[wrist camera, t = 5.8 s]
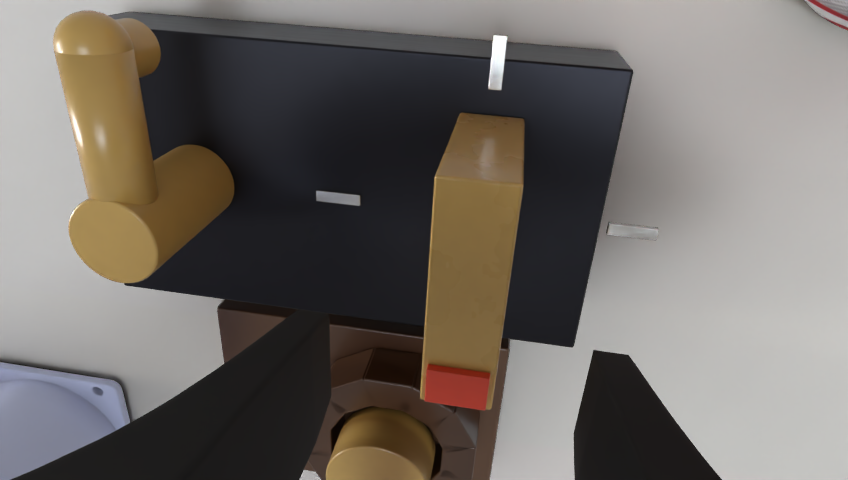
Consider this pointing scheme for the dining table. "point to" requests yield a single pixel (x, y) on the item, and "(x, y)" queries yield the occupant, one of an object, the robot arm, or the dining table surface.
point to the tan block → (471, 259)
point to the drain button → (382, 447)
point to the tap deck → (379, 162)
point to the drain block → (380, 385)
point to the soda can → (831, 11)
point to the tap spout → (129, 154)
